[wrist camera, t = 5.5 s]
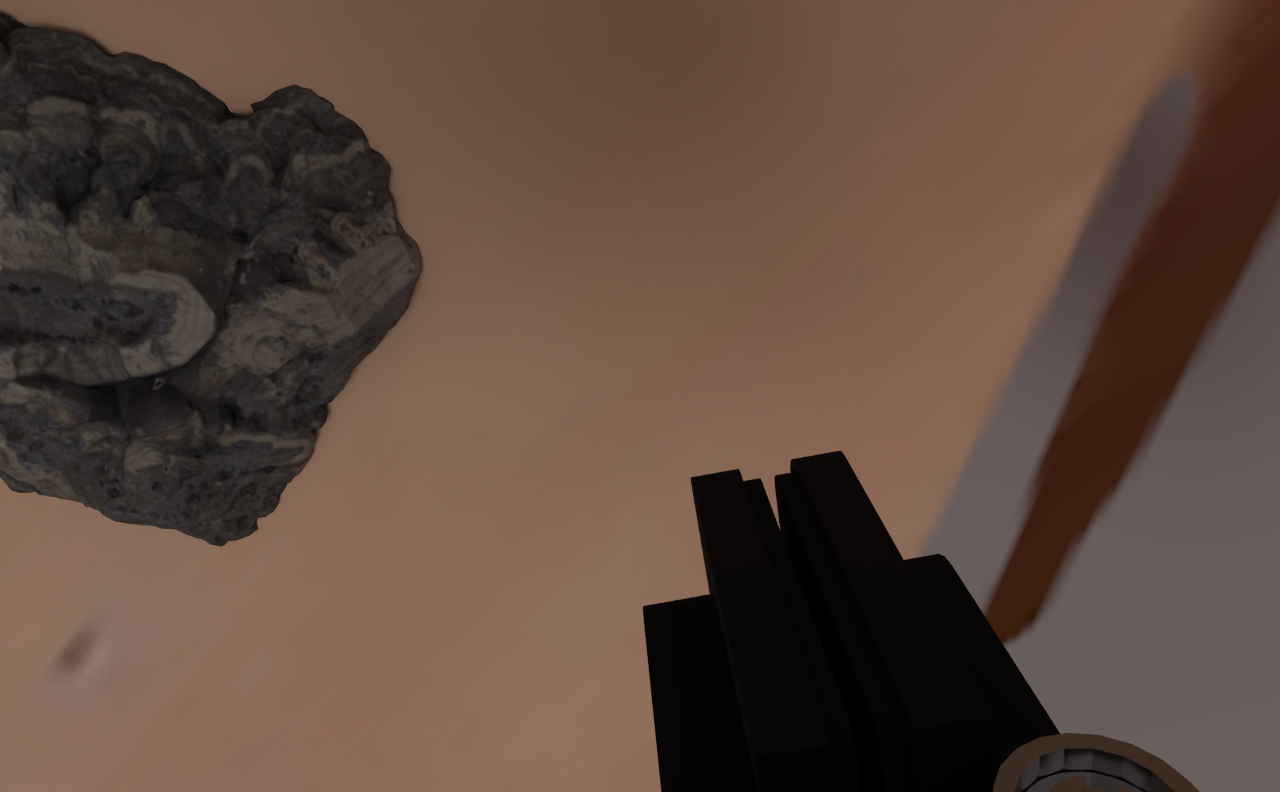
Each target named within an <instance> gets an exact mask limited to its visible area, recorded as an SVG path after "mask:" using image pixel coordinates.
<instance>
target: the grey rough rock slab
mask: <svg viewBox="0 0 1280 792" xmlns="http://www.w3.org/2000/svg"><path fill="white" fill-rule="evenodd" d="M250 105H251V107H252V109H253V111H254V113H253V114H252V115H251V116H249V117H241V116H238V115H236V114H234V113H232V112H230V111H229V110H228V108H227V106H226V105H225V104H224V103H223V102H222V101H220V100H219V99H218V98H216V97H215V96H213V95H212V94H210V93H209V92H207V91H205V90H204V89H202V88H200V87H199V86H198V85H197V84H196V82H195V81H194V80H193V79H191V78H189V77H187V76H186V75H184V74H182V73H180V72H178V71H176V70H174V69H172V68H171V67H169V66H167V65H165V64H164V63H156V62H150V61H148V60H147V59H145V58H143V57H141V56H138V55H132V54H127V53H120V54H117V55H109V54H106V53H103V52H101V51H100V50H99V49H98V48H97V47H96V46H95V45H94V44H92V43H91V42H90V41H89V40H88V39H86V38H83V37H81V36H78V35H76V34H73V33H61V32H55V31H50V30H45V29H41V28H36V27H28V26H26V25H24V24H22V23H19V22H16V21H14V20H12V19H10V18H9V17H8V16H6V15H5V14H3V13H0V477H1V478H2V479H3V481H4V482H5V483H6V484H7V485H8V487H9V488H10V489H11V490H12V491H14V492H19V493H28V492H37V493H38V494H39V495H45V496H51V497H56V498H60V499H66V500H72V501H77V502H81V503H83V504H84V505H85V506H86V507H91V508H93V509H95V510H98V511H100V512H101V513H102V514H103V515H104V516H106V517H108V518H110V519H112V520H113V521H116V522H122V523H127V524H138V525H151V526H156V527H159V528H162V529H176V530H178V531H180V532H183V533H184V534H186V535H189V536H192V537H196V538H199V539H203V540H205V541H206V542H208V543H209V544H212V545H216V546H223V545H225V544H226V543H227V542H228V541H235V540H239V539H241V538H244V537H247V536H249V535H251V534H252V533H253V532H255V531H256V530H257V529H258V526H257V518H262V517H266V516H267V515H269V514H270V513H272V512H273V511H274V510H275V508H276V507H277V505H278V501H279V497H280V495H281V493H282V492H283V490H284V489H285V487H286V486H287V483H290V482H291V481H292V479H293V478H294V477H295V476H296V475H298V474H299V473H300V472H301V471H302V469H303V468H304V466H305V465H306V464H307V462H308V461H309V459H310V458H311V456H312V449H313V446H314V444H315V442H316V441H315V436H314V433H313V430H315V429H318V428H321V427H323V425H324V424H325V422H326V418H327V412H326V409H325V406H324V405H325V404H327V403H330V402H332V400H333V399H334V398H335V397H336V396H337V394H338V393H339V392H340V391H342V390H343V388H344V387H345V385H346V383H347V381H348V379H349V376H350V374H351V371H352V370H353V369H354V368H355V367H356V366H357V365H358V364H359V363H360V362H361V361H362V360H363V359H364V358H365V357H366V356H367V355H368V354H369V353H371V352H372V351H373V350H374V349H375V348H376V347H377V346H378V345H379V343H380V342H381V341H382V340H383V339H384V337H385V336H386V334H387V332H388V331H389V330H390V329H391V328H393V327H394V326H395V325H396V324H397V322H398V321H399V319H400V318H401V316H402V315H403V314H404V312H405V311H406V310H407V308H408V306H409V300H410V298H411V296H412V294H413V291H414V288H415V284H416V282H417V280H418V277H419V275H420V258H419V251H418V246H417V242H416V241H415V240H414V239H413V238H411V237H410V236H409V235H408V234H407V233H406V232H405V231H404V229H403V227H402V226H401V225H400V224H399V223H398V222H397V220H396V218H395V214H394V208H393V203H392V200H391V198H390V196H389V194H388V192H387V186H388V181H389V174H390V166H389V165H388V163H387V162H386V160H385V159H384V157H383V155H381V154H380V153H379V152H377V151H375V150H374V149H372V148H371V147H370V146H369V143H368V141H367V138H366V136H365V134H364V132H363V130H362V129H361V128H360V127H359V126H358V125H357V124H356V123H355V122H354V121H352V120H351V119H349V118H347V117H345V116H344V115H342V114H340V113H338V112H337V111H335V109H334V105H333V104H332V103H331V102H329V101H328V100H326V99H325V98H322V97H319V96H317V95H316V94H315V93H314V92H313V91H312V90H310V89H306V88H302V87H300V86H298V85H291V86H288V87H285V88H282V89H280V90H276V91H275V92H274V93H272V94H271V95H270V96H268V97H267V98H266V99H264V100H263V101H260V102H256V103H253V104H250Z"/></svg>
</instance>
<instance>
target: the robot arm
mask: <svg viewBox="0 0 1280 792" xmlns="http://www.w3.org/2000/svg"><path fill="white" fill-rule="evenodd" d="M790 470H791V473H786V474H781V475H775V491H776V499H777V507H778V515H779V523H780V529H779V526H778V524H777V521H776V518H775V516H774V513H773V510H772V507H771V505H770V502H769V499H768V497H767V494H766V491H765V489H764V486H763V483H762V481H761V479H760V478H758V479H753V480H747V481H743V479H742V476H741V473H740V470H739V469H735V470H729V471H724V472H718V473H713V474H707V475H702V476H696V477H691V484H692V491H693V497H694V503H695V509H696V515H697V521H698V527H699V532H700V538H701V544H702V550H703V556H704V562H705V568H706V574H707V580H708V586H709V592H710V594H709V595H703V596H698V597H692V598H687V599H681V600H675V601H670V602H664V603H658V604H653V605H647V606H643V616H644V627H645V636H646V646H647V656H648V666H649V675H650V685H651V695H652V705H653V714H654V724H655V734H656V743H657V753H658V763H659V773H660V782H661V792H1199V791H1198V790H1197V789H1196V788H1195V787H1194V786H1193V785H1192V784H1191V782H1190V781H1188V780H1187V779H1186V778H1184V777H1183V776H1182V775H1181V774H1180V773H1179V772H1177V771H1176V770H1175V769H1174V768H1172V767H1171V766H1170V765H1169V764H1167V763H1166V762H1165V761H1164V760H1162V759H1160V758H1158V757H1156V756H1154V755H1153V754H1150V753H1149V752H1146V751H1145V750H1143V749H1141V748H1139V747H1137V746H1135V745H1133V744H1130V743H1126V742H1123V741H1119V740H1116V739H1112V738H1109V737H1105V736H1101V735H1093V734H1078V733H1064V734H1060V733H1059V732H1058V730H1057V728H1056V726H1055V725H1054V723H1053V722H1052V720H1051V719H1050V717H1049V716H1048V714H1047V713H1046V711H1045V709H1044V708H1043V706H1042V705H1041V703H1040V702H1039V700H1038V698H1037V697H1036V695H1035V694H1034V692H1033V691H1032V689H1031V688H1030V686H1029V684H1028V683H1027V681H1026V680H1025V678H1024V677H1023V675H1022V674H1021V672H1020V670H1019V669H1018V667H1017V666H1016V664H1015V663H1014V661H1013V660H1012V658H1011V657H1010V655H1009V653H1008V652H1007V650H1006V649H1005V647H1004V646H1003V644H1002V642H1001V641H1000V639H999V638H998V636H997V635H996V633H995V632H994V630H993V628H992V627H991V625H990V624H989V622H988V621H987V619H986V618H985V616H984V614H983V613H982V611H981V610H980V608H979V607H978V605H977V604H976V602H975V600H974V599H973V597H972V596H971V595H970V593H969V591H968V590H967V588H966V587H965V585H964V583H963V582H962V580H961V579H960V577H959V576H958V574H957V572H956V571H955V569H954V568H953V566H952V565H951V564H950V562H949V561H948V560H947V559H946V557H945V556H942V555H940V554H935V555H929V556H924V557H918V558H912V559H907V560H903V558H902V556H901V554H900V553H899V551H898V549H897V547H896V545H895V544H894V542H893V540H892V538H891V537H890V535H889V533H888V531H887V530H886V528H885V526H884V524H883V522H882V521H881V519H880V517H879V515H878V514H877V512H876V510H875V508H874V507H873V505H872V503H871V501H870V499H869V498H868V496H867V494H866V492H865V491H864V489H863V487H862V485H861V484H860V482H859V480H858V478H857V476H856V475H855V473H854V471H853V469H852V468H851V466H850V464H849V462H848V461H847V459H846V457H845V455H844V454H843V453H842V451H836V452H830V453H824V454H819V455H813V456H808V457H802V458H797V459H791V465H790Z"/></svg>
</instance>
